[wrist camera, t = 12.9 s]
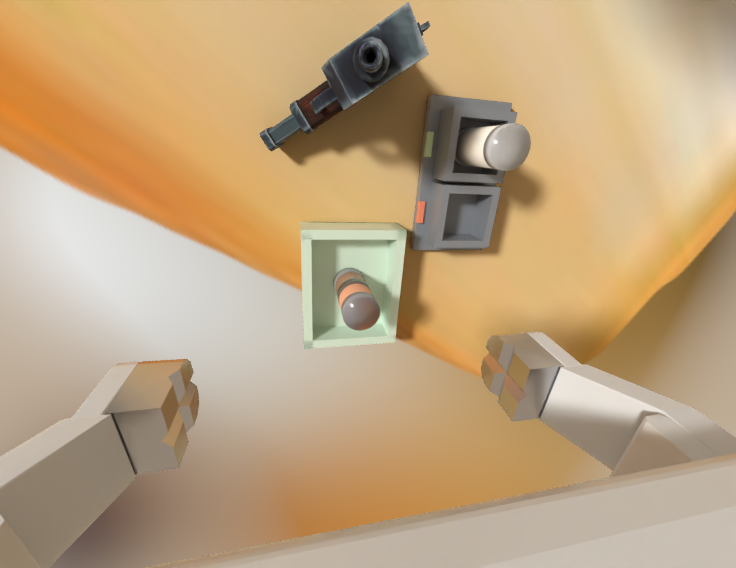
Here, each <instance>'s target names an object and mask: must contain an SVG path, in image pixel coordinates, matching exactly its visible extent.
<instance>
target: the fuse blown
mask: <svg viewBox="0 0 736 568" xmlns="http://www.w3.org/2000/svg"><path fill="white" fill-rule="evenodd" d="M334 288H335V291H336V293H337V297H338V301H339V305H340V308H341V313H342V317H343V320H344V322H345V324H346V325H347V326H348V327H349V328H351V329H353V330H358V331H361V330H366V329H369V328H371V327H372V326H373V325H374V324H375V323H376V322H377V321H378V319H379V317H380V307H379V305H378V303H377V301H376V299H375V298H374V296H373V295H372V292H371V290H370V288H369V286H368V285H367V283H366V280H365V278H364V276H363V274H362V273H361V272H360V271H359V270H358V269H355V268H344V269H342V270H340V271H339V272H338V273H337V274H336V276H335V278H334Z"/></svg>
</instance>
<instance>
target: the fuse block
mask: <svg viewBox="0 0 736 568" xmlns="http://www.w3.org/2000/svg"><path fill="white" fill-rule="evenodd" d="M511 106H512V103H507V102H498V101H488V100H479V99H469V98H460V97H450V96H441V95H429V96H428V101H427V110H426V119H425V127H424V136H423V145H422V154H421V162H420V171H419V180H418V188H417V197H416V206H415V215H414V223H413V232H412V241H411V249H413V250H482V248H488V247H489V243H490V238H491V233H492V229H493V224H494V219H495V215H496V210H497V205H498V201H499V196H500V191H501V187H497V186H495V184H496V183H502V182H503V177H504V173H505V171H503V170H495V169H492V168H484V167H475V166H463V165H458V164H456V163H455V162H454V160H455V154H456V147H457V141H458V134H459V130H461V129H463V128H470V127H475V128H476V127H487V126H497V125H503V124H512V123H515V121H516V116H517V112H510V111H511Z"/></svg>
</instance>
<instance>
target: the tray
mask: <svg viewBox="0 0 736 568" xmlns="http://www.w3.org/2000/svg"><path fill="white" fill-rule="evenodd" d="M300 225H301V264H302V304H303V337H304V349H309V348H322V347H336V346H351V345H365V344H378V343H379V344H380V343H394V342H395V338H396V328H397V319H398V310H399V300H400V291H401V282H402V273H403V263H404V254H405V245H406V235H407V230H406V229H404V228H403V227H402V226H400V225H399V224H398V223H357V222H300ZM344 268H355V269H358V270H359V271H360V272H361V273H362V274H363V276H364V278H365V280H366V283H367V285H368V286H369V288H370V290H371V292H372V295H373V296H374V298H375V299H376V301H377V303H378V305H379V307H380V317H379V319H378V321H377V322H376V323H375V324H374V325H373V326H372V327H371V328H369V329H366V330H361V331H358V330H353V329H351V328H349V327H348V326H347V325H346V324H345V322H344V320H343V317H342V313H341V308H340V305H339V301H338V297H337V293H336V291H335V288H334V278H335V276H336V274H337V273H338V272H339V271H340V270H342V269H344Z"/></svg>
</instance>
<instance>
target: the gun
mask: <svg viewBox="0 0 736 568" xmlns="http://www.w3.org/2000/svg"><path fill="white" fill-rule="evenodd" d="M429 26H430V24H429V21H427V22H426V23H424V24H422V25H421V26H420V24H419V22H418V23H417V22H416V20H415V17H414V14H413V12H412V9H411V7H410V4H409V2H408V3H406V4H405V5H403V6H402V7H401V8H399V9H398V10H396V11H395V12H394V13H392V14H391V15H390V16H388V17H387V18H385V19H384V20H383V21H381V22H380V23H378V24H377V25H376V26H374V27H373V28H371V29H370V30H369V31H367V32H366V33H365V34H363V35H362V36H360V37H359V38H358V39H356V40H355V41H353V42H352V43H351V44H349V45H348V46H347V47H345V48H344V49H342V50H341V51H340V52H338V53H337V54H335V55H334V56H333V57H331V58H330V59H329V60H328V61H327V62H326V63H325V64H324V66H323V67H322V70H323V72H324V74H325V76H326V78H327V81H325V82H324V83H322V84H321V85H320V86H318V87H317V88H315V89H314V90H312V91H311V92H310V93H308V94H307V95H305V96H304V97H302V98H301V99H300V100H296V101H294V102H293V103H291V104H290V110H291V112H292V115H290V116H289V117H287V118H286V119H284V120H283V121H281V122H280V123H278V124H277V125H276V126H274V127H270V128H267V129H265V130H264V131H262V132H261V133H260V137H261V138H262V140H263V141H264V143H265V144H266V146H267V147H268V149H269V150H270V151H273V150H275V149H277V148H278V147H280V146H281V145H283V141H285V140H286V139H288V138H289V137H291V136H292V135H294V134H295V133H297V132H298V131H300V130H301V129H302V130H303V131H304V132H305V133H306V134H309V133H311V132H312V131H314V130H315V129H317V127H318V126H319V125H321V124H322V123H324V122H325V121H327V120H328V119H330V118H331V117H333V116H334V115H336V114H338V113H339V112H341V111H342V110H346V109H347V108H349V107H350V106H352V105H353V104H355V103H356V102H358V101H359V100H361V99H363V98H364V97H366V96H367V95H369V94H370V93H372V92H373V91H375V90H376V89H378V88H379V87H381V86H382V85H384V84H385V83H387V82H388V81H390V80H391V79H393V78H394V77H396V76H397V75H399V74H401V73H402V72H404V71H405V70H407V69H408V68H410V67H411V66H413V65H414V64H415V63H417V62H418V61H420V60H421V59H423V58H424V57H426V56H427V55H429V54H428V51H427V49H426V46H425V43H424V41H423V38H422V35H423V32H424V31H425V30H427V29H428V28H429Z"/></svg>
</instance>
